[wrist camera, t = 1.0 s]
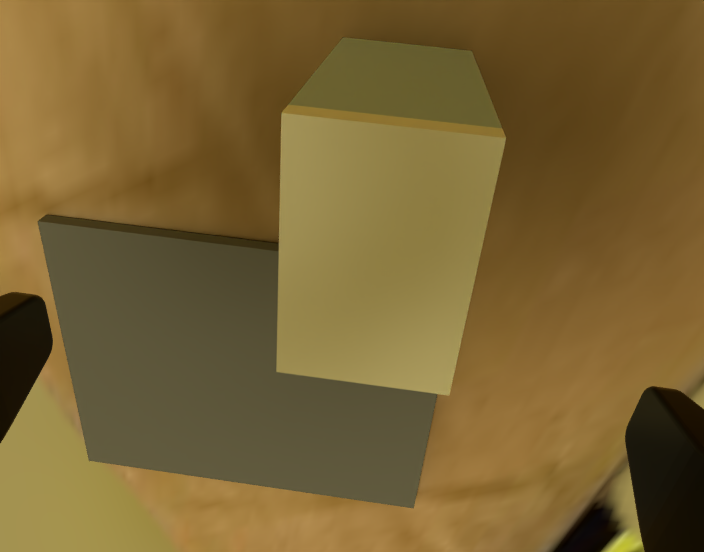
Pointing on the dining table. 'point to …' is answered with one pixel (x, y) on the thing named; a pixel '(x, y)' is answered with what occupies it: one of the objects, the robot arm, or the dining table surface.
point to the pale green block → (383, 213)
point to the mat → (215, 369)
